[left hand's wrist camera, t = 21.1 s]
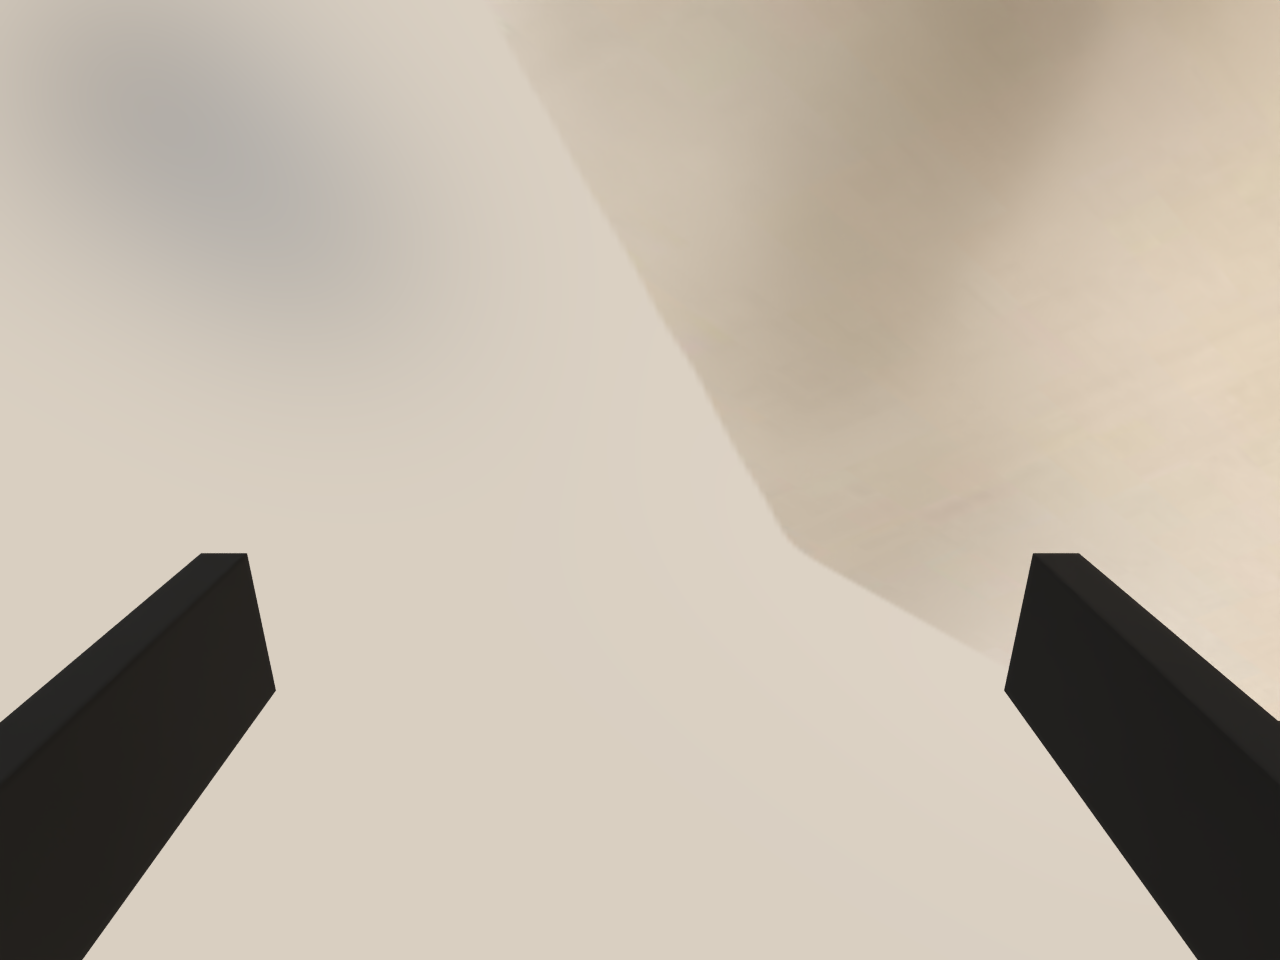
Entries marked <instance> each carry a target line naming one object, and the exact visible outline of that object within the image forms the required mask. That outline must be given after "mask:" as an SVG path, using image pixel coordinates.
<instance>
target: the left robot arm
mask: <svg viewBox="0 0 1280 960" xmlns="http://www.w3.org/2000/svg"><path fill="white" fill-rule="evenodd" d="M275 691H276V689H275V684H274V680H273V675H272V670H271V665H270V661H269V656H268V651H267V647H266V642H265V637H264V632H263V627H262V623H261V618H260V613H259V608H258V604H257V599H256V594H255V589H254V585H253V580H252V575H251V570H250V566H249V561H248V556H247V553H201V554H200V555H199V556H197V557H196V558H195V559H194V560H193V561H191V562H190V563H189V564H188V565H187V566H186V567H184V568H183V569H182V570H181V571H180V572H178V573H177V574H176V575H175V576H174V577H173V578H171V579H170V580H169V581H168V582H166V583H165V584H164V585H163V586H162V587H161V588H159V589H158V590H157V591H156V592H155V593H153V594H152V595H151V596H150V597H149V598H148V599H146V600H145V601H144V602H143V603H142V604H140V605H139V606H138V607H137V608H136V609H134V610H133V611H132V612H131V613H130V614H129V615H127V616H126V617H125V618H124V619H123V620H121V621H120V622H119V623H118V624H117V625H115V626H114V627H113V628H112V629H111V630H109V631H108V632H107V633H106V634H105V635H104V636H102V637H101V638H100V639H99V640H98V641H96V642H95V643H94V644H93V645H92V646H91V647H89V648H88V649H87V650H86V651H85V652H83V653H82V654H81V655H80V656H79V657H77V658H76V659H75V660H74V661H73V662H72V663H70V664H69V665H68V666H67V667H66V668H64V669H63V670H62V671H61V672H60V673H58V674H57V675H56V676H55V677H54V678H53V679H51V680H50V681H49V682H48V683H47V684H45V685H44V686H43V687H42V688H41V689H39V690H38V691H37V692H36V693H35V694H34V695H32V696H31V697H30V698H29V699H28V700H26V701H25V702H24V703H23V704H22V705H20V706H19V707H18V708H17V709H16V710H15V711H13V712H12V713H11V714H10V715H9V716H7V717H6V718H5V719H4V720H3V721H1V722H0V960H82V959H83V958H84V957H85V955H86V954H87V952H88V951H89V950H90V948H91V947H92V946H93V944H94V943H95V941H96V940H97V939H98V937H99V936H100V934H101V933H102V932H103V930H104V929H105V927H106V926H107V925H108V923H109V922H110V920H111V919H112V918H113V916H114V915H115V914H116V912H117V911H118V909H119V908H120V907H121V905H122V904H123V902H124V901H125V900H126V898H127V897H128V895H129V894H130V893H131V891H132V890H133V889H134V887H135V886H136V884H137V883H138V882H139V880H140V879H141V877H142V876H143V875H144V873H145V872H146V870H147V869H148V868H149V866H150V865H151V863H152V862H153V861H154V859H155V858H156V856H157V855H158V854H159V852H160V851H161V849H162V848H163V847H164V845H165V844H166V843H167V841H168V840H169V838H170V837H171V836H172V834H173V833H174V831H175V830H176V829H177V827H178V826H179V825H180V823H181V822H182V820H183V819H184V817H185V816H186V815H187V813H188V812H189V811H190V809H191V808H192V806H193V805H194V804H195V802H196V801H197V799H198V798H199V797H200V795H201V794H202V793H203V791H204V790H205V788H206V787H207V786H208V784H209V783H210V781H211V780H212V779H213V777H214V776H215V774H216V773H217V772H218V770H219V769H220V767H221V766H222V765H223V763H224V762H225V760H226V759H227V758H228V756H229V755H230V754H231V752H232V751H233V749H234V748H235V747H236V745H237V744H238V742H239V741H240V740H241V738H242V737H243V735H244V734H245V733H246V731H247V730H248V728H249V727H250V726H251V724H252V723H253V721H254V720H255V719H256V717H257V716H258V715H259V713H260V712H261V710H262V709H263V708H264V706H265V705H266V703H267V702H268V701H269V699H270V698H271V696H272V695H273V694H274V692H275ZM1004 691H1005V692H1006V694H1007V695H1008V696H1009V698H1010V699H1011V701H1012V702H1013V703H1014V705H1015V706H1016V708H1017V709H1018V710H1019V712H1020V713H1021V715H1022V716H1023V717H1024V719H1025V720H1026V722H1027V723H1028V724H1029V726H1030V727H1031V728H1032V730H1033V731H1034V733H1035V734H1036V735H1037V737H1038V738H1039V740H1040V741H1041V742H1042V744H1043V745H1044V747H1045V748H1046V749H1047V751H1048V752H1049V754H1050V755H1051V756H1052V758H1053V759H1054V760H1055V762H1056V763H1057V765H1058V766H1059V767H1060V769H1061V770H1062V772H1063V773H1064V774H1065V776H1066V777H1067V779H1068V780H1069V781H1070V783H1071V784H1072V786H1073V787H1074V788H1075V790H1076V791H1077V792H1078V794H1079V795H1080V797H1081V798H1082V799H1083V801H1084V802H1085V803H1086V805H1087V806H1088V808H1089V809H1090V811H1091V812H1092V813H1093V815H1094V816H1095V818H1096V819H1097V820H1098V822H1099V823H1100V825H1101V826H1102V827H1103V829H1104V830H1105V831H1106V833H1107V834H1108V836H1109V837H1110V838H1111V840H1112V841H1113V843H1114V844H1115V845H1116V847H1117V848H1118V849H1119V851H1120V852H1121V854H1122V855H1123V856H1124V858H1125V859H1126V861H1127V862H1128V863H1129V865H1130V866H1131V868H1132V869H1133V870H1134V872H1135V873H1136V875H1137V876H1138V877H1139V879H1140V880H1141V882H1142V883H1143V884H1144V886H1145V887H1146V889H1147V890H1148V891H1149V893H1150V894H1151V895H1152V897H1153V898H1154V900H1155V901H1156V902H1157V904H1158V905H1159V907H1160V908H1161V909H1162V911H1163V912H1164V914H1165V915H1166V916H1167V918H1168V919H1169V920H1170V922H1171V923H1172V925H1173V926H1174V927H1175V929H1176V930H1177V932H1178V933H1179V934H1180V936H1181V937H1182V939H1183V940H1184V941H1185V943H1186V944H1187V946H1188V947H1189V948H1190V950H1191V951H1192V953H1193V954H1194V955H1195V957H1196V958H1197V959H1198V960H1280V721H1277V720H1276V719H1275V718H1274V717H1273V716H1271V715H1270V714H1269V713H1268V712H1267V711H1265V710H1264V709H1263V708H1262V707H1261V706H1260V705H1258V704H1257V703H1256V702H1255V701H1254V700H1252V699H1251V698H1250V697H1249V696H1248V695H1246V694H1245V693H1244V692H1243V691H1242V690H1241V689H1239V688H1238V687H1237V686H1236V685H1235V684H1233V683H1232V682H1231V681H1230V680H1229V679H1227V678H1226V677H1225V676H1224V675H1223V674H1222V673H1220V672H1219V671H1218V670H1217V669H1216V668H1214V667H1213V666H1212V665H1211V664H1210V663H1208V662H1207V661H1206V660H1205V659H1204V658H1203V657H1201V656H1200V655H1199V654H1198V653H1197V652H1195V651H1194V650H1193V649H1192V648H1191V647H1189V646H1188V645H1187V644H1186V643H1185V642H1184V641H1182V640H1181V639H1180V638H1179V637H1178V636H1176V635H1175V634H1174V633H1173V632H1172V631H1170V630H1169V629H1168V628H1167V627H1166V626H1165V625H1163V624H1162V623H1161V622H1160V621H1159V620H1157V619H1156V618H1155V617H1154V616H1153V615H1152V614H1150V613H1149V612H1148V611H1147V610H1146V609H1144V608H1143V607H1142V606H1141V605H1140V604H1138V603H1137V602H1136V601H1135V600H1134V599H1133V598H1131V597H1130V596H1129V595H1128V594H1127V593H1125V592H1124V591H1123V590H1122V589H1121V588H1119V587H1118V586H1117V585H1116V584H1115V583H1114V582H1112V581H1111V580H1110V579H1109V578H1108V577H1106V576H1105V575H1104V574H1103V573H1102V572H1100V571H1099V570H1098V569H1097V568H1096V567H1095V566H1093V565H1092V564H1091V563H1090V562H1089V561H1087V560H1086V559H1085V558H1084V557H1083V556H1081V555H1080V554H1079V553H1033V556H1032V561H1031V566H1030V570H1029V575H1028V580H1027V585H1026V589H1025V594H1024V599H1023V604H1022V608H1021V613H1020V618H1019V623H1018V627H1017V632H1016V637H1015V642H1014V646H1013V651H1012V656H1011V661H1010V665H1009V670H1008V675H1007V680H1006V684H1005V689H1004Z"/></svg>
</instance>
